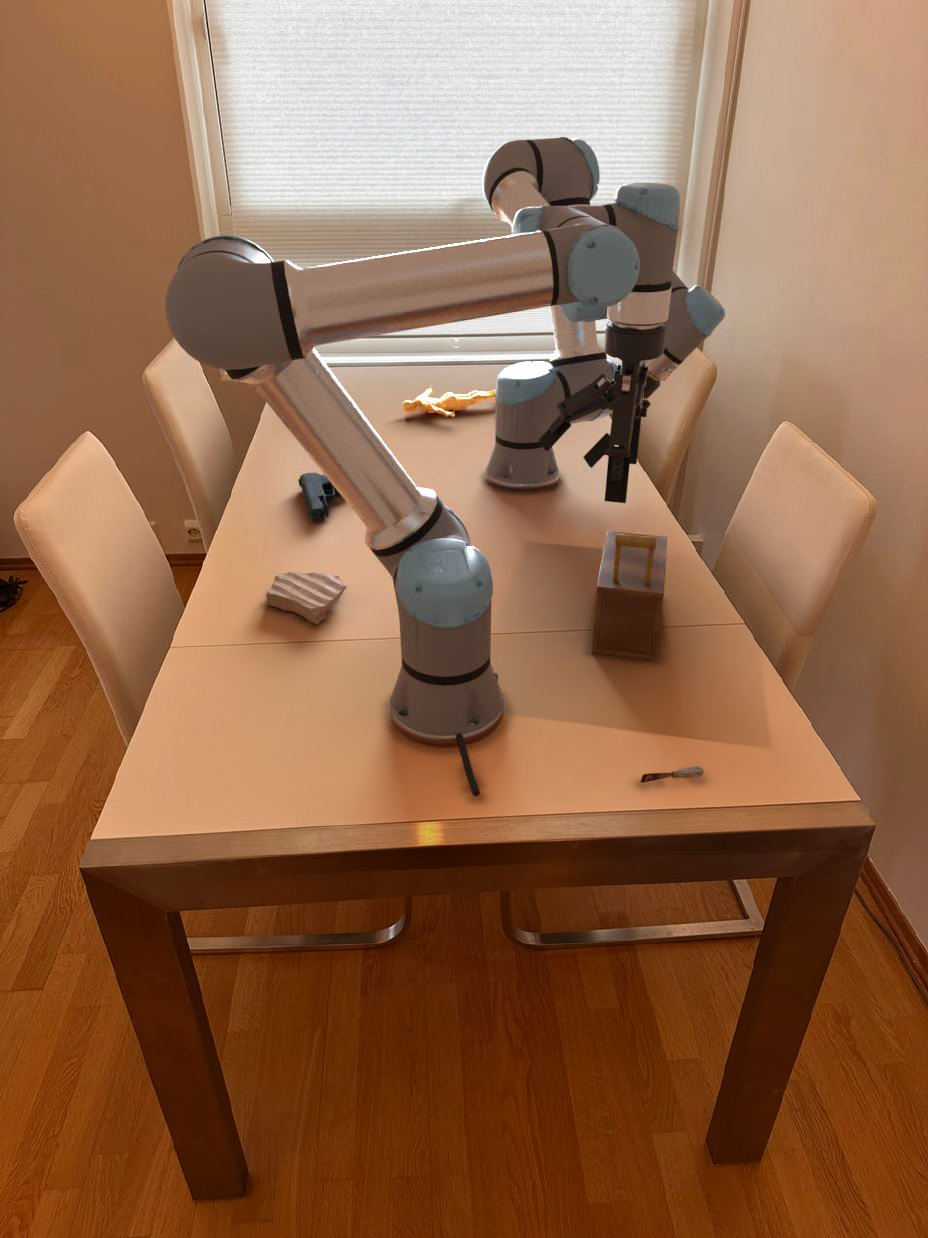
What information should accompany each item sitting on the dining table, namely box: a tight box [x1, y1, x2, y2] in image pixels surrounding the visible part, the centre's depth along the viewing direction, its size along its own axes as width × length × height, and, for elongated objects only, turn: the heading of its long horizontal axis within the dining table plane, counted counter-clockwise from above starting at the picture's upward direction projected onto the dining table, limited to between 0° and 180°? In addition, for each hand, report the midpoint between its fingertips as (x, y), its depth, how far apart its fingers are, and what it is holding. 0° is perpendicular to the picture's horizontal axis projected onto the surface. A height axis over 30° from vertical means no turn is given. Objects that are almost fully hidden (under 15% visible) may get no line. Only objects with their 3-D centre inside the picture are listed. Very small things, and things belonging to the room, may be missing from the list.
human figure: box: [402, 385, 496, 418], centre depth 225 cm, size 20×20×4 cm
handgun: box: [298, 471, 340, 522], centre depth 178 cm, size 3×18×12 cm
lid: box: [595, 530, 668, 600], centre depth 131 cm, size 18×9×8 cm, turn 168°
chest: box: [591, 592, 664, 661], centre depth 136 cm, size 17×9×11 cm, turn 168°
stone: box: [265, 571, 347, 625], centre depth 145 cm, size 13×12×2 cm
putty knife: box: [640, 765, 705, 784], centre depth 109 cm, size 1×8×2 cm, turn 103°
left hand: (621, 481), depth 122 cm, fingers open, 13 cm apart
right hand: (565, 454), depth 166 cm, fingers open, 13 cm apart
